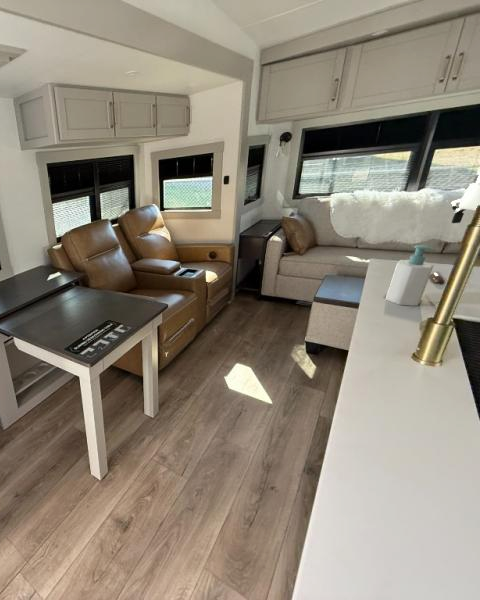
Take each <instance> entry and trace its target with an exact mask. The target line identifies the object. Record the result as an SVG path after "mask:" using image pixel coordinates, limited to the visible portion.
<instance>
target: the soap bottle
mask: <svg viewBox="0 0 480 600" xmlns="http://www.w3.org/2000/svg"><path fill="white" fill-rule="evenodd" d="M413 248H414V249H415V251H414V253H413V254H411V255H410V257H409V259H400V260H399V261H398V262H397V263H396V266H395V269H394V272H393V275H392V278H391V281H390V284H389V287H388V290H387V293H386V296H385V300H386V301H387V302H391V303H392V304H395V305H398V306H411V307H417V306H418V305H419V304H420V302H421V300H422V297H423V295H424V292H425V289H426V288H427V284H428V282H429V279H430V275H431V274H432V273H433V272H432V271H433V268H434V267H435V264H433V263H430V262H426V261H425V260H426V255H424V254H425V252H426V250H430V251H436V248H434V247H432V246H428V245H422V244H418V245H414V247H413Z"/></svg>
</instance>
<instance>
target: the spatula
mask: <svg viewBox="0 0 480 600" xmlns="http://www.w3.org/2000/svg"><path fill="white" fill-rule="evenodd" d="M429 279H430V280H431V281H432V282H433V283H434V284H436V285H444V284H445V279H444V278H443V277H442V276H441V275H440V274H439V273H438V272H431V274H430V277H429Z"/></svg>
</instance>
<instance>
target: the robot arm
mask: <svg viewBox="0 0 480 600" xmlns="http://www.w3.org/2000/svg"><path fill="white" fill-rule="evenodd" d="M478 205H480V165H479V166H478V168H477V171H476V173H475V175H474V178H473V181H472V182H471V183H470V184H469V185H468V187H467V188H466V189H465V191H464V193H463V195H462V197H461V198H457V199H454V200H452V201H451V209H452V210H453V213H454V215H453V216H452V219H451V224H460V223H461V222H462V220H463V218H464V216H465V211H466V210H467V211H475V210H476V208H477V206H478Z"/></svg>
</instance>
